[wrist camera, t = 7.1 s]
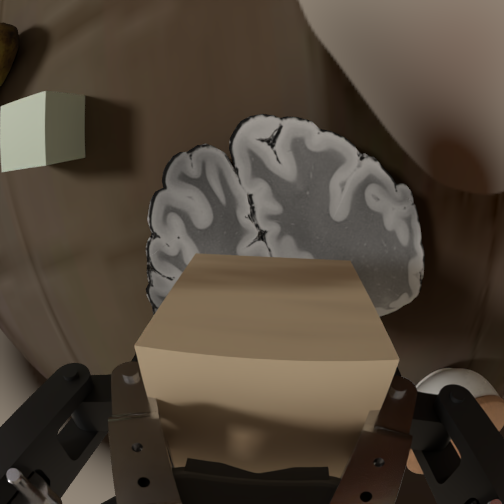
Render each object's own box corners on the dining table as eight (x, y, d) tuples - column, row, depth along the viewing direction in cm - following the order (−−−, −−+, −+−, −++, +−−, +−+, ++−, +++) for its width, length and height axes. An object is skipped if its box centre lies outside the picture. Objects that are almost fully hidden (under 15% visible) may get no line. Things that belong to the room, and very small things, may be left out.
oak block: (195, 253, 12) (134, 345, 7) (350, 260, 12) (399, 359, 6) (203, 370, 14) (172, 473, 9) (329, 377, 14) (343, 483, 8)
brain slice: (358, 82, 18) (370, 74, 15) (421, 293, 23) (435, 311, 20) (110, 190, 22) (90, 198, 19) (206, 364, 27) (199, 386, 24)
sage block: (40, 106, 20) (0, 106, 15) (85, 95, 19) (45, 90, 15) (41, 163, 21) (1, 172, 17) (85, 157, 21) (46, 165, 16)
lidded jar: (407, 352, 25) (442, 429, 16) (491, 344, 24) (534, 403, 15) (377, 426, 29) (393, 495, 20) (455, 415, 28) (480, 472, 19)
